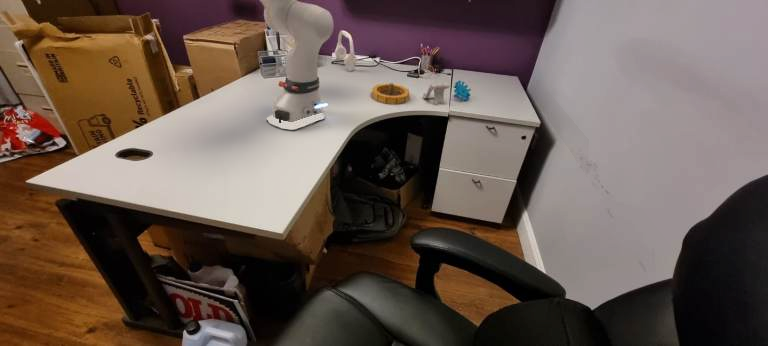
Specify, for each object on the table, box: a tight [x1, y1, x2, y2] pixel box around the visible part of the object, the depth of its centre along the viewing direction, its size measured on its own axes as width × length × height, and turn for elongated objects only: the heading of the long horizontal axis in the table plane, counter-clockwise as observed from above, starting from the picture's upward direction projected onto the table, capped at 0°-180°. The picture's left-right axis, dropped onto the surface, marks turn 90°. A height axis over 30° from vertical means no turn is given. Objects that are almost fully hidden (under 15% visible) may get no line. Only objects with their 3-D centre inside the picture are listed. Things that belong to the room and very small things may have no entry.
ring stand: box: [379, 82, 401, 96], centre depth 146 cm, size 10×10×6 cm
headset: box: [332, 30, 357, 72], centre depth 174 cm, size 20×7×18 cm, turn 26°
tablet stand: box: [422, 83, 450, 105], centre depth 145 cm, size 9×8×8 cm
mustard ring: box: [371, 83, 410, 105], centre depth 147 cm, size 17×17×3 cm
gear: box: [453, 79, 472, 102], centre depth 152 cm, size 11×6×10 cm
